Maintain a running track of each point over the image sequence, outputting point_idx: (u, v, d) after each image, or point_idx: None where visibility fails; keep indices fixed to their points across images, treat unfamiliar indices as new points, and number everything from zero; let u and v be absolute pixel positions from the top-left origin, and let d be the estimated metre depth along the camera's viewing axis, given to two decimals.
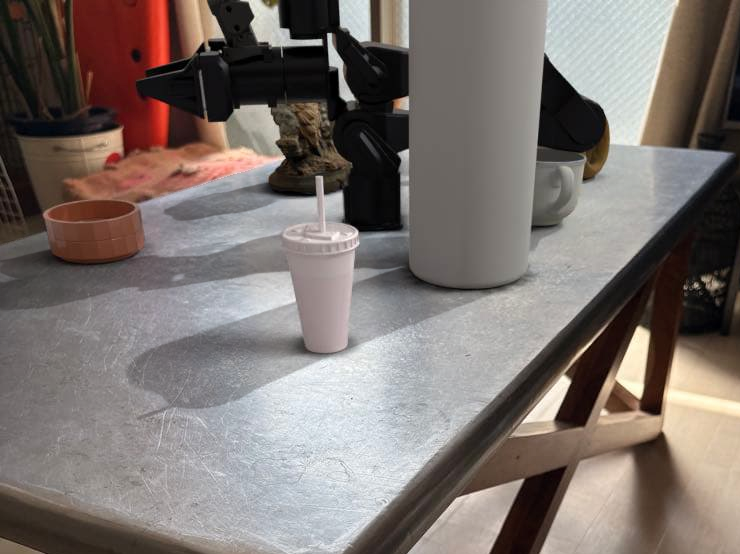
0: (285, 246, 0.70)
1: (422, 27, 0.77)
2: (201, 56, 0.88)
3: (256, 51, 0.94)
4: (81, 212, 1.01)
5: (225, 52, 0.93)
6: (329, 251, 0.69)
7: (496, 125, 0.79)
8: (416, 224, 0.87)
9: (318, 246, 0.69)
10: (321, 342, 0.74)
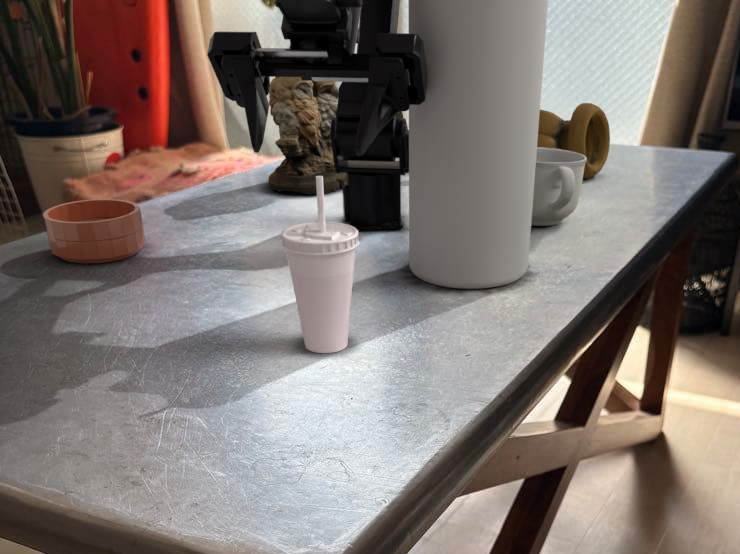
0: (285, 246, 0.70)
1: (421, 27, 0.77)
2: (413, 51, 0.73)
3: None
4: (81, 212, 1.01)
5: (348, 31, 0.75)
6: (329, 251, 0.69)
7: (496, 125, 0.79)
8: (416, 224, 0.87)
9: (318, 246, 0.69)
10: (321, 342, 0.74)
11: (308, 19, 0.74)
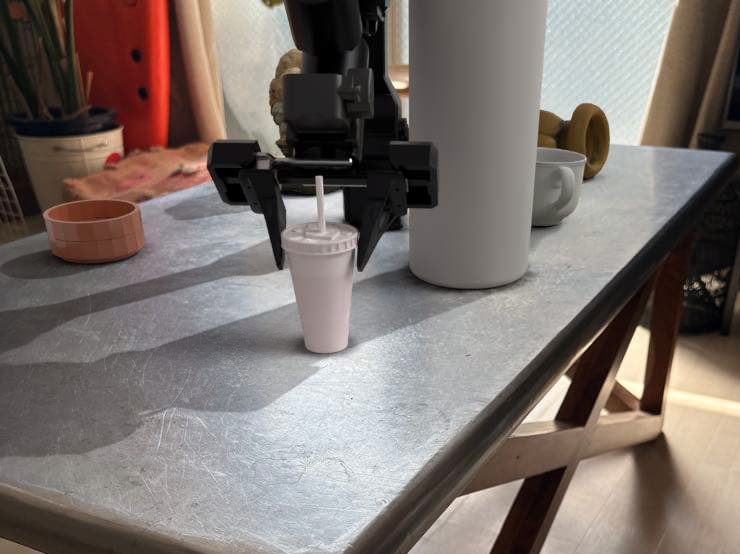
0: (285, 246, 0.70)
1: (421, 27, 0.77)
2: (430, 164, 0.69)
3: None
4: (81, 212, 1.01)
5: (358, 141, 0.70)
6: (329, 251, 0.69)
7: (496, 125, 0.79)
8: (416, 224, 0.87)
9: (318, 246, 0.69)
10: (321, 342, 0.74)
11: (315, 129, 0.69)
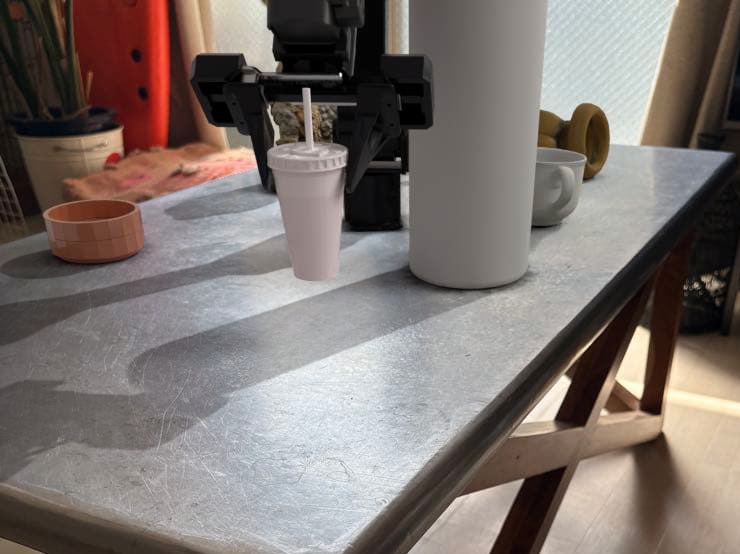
0: (271, 164, 0.67)
1: (421, 27, 0.77)
2: (423, 76, 0.66)
3: None
4: (81, 212, 1.01)
5: (348, 53, 0.67)
6: (317, 168, 0.66)
7: (496, 125, 0.79)
8: (416, 224, 0.87)
9: (305, 162, 0.65)
10: (310, 269, 0.71)
11: (303, 40, 0.66)
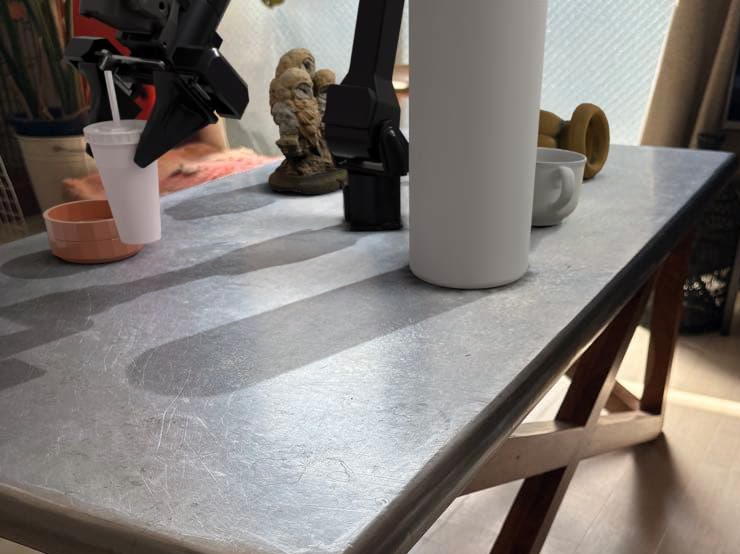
0: None
1: (421, 27, 0.77)
2: (196, 67, 0.70)
3: (175, 8, 0.74)
4: (81, 212, 1.01)
5: (161, 42, 0.74)
6: (105, 142, 0.75)
7: (496, 125, 0.79)
8: (416, 224, 0.87)
9: (95, 136, 0.74)
10: (121, 232, 0.80)
11: (130, 29, 0.75)
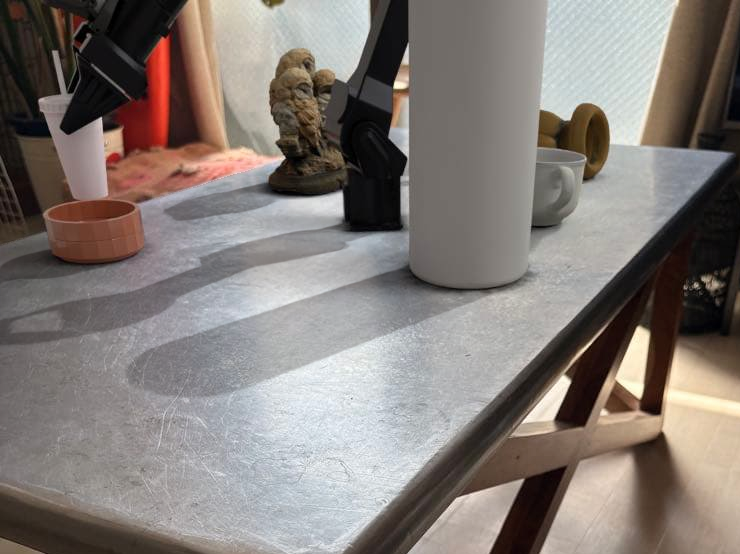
0: None
1: (421, 27, 0.77)
2: (82, 52, 0.81)
3: (113, 0, 0.85)
4: (81, 212, 1.01)
5: (94, 29, 0.86)
6: (44, 109, 0.89)
7: (496, 125, 0.79)
8: (416, 224, 0.87)
9: None
10: (70, 187, 0.95)
11: None
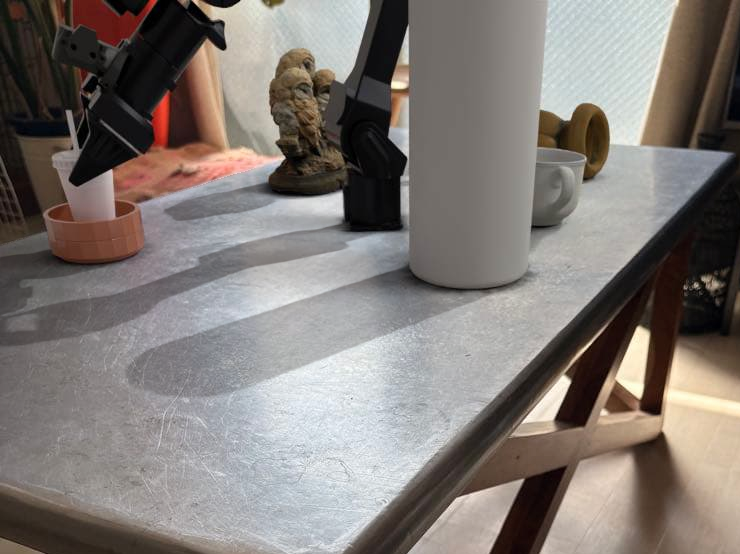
0: None
1: (421, 27, 0.77)
2: (91, 108, 0.84)
3: (122, 57, 0.88)
4: None
5: (103, 84, 0.88)
6: (57, 166, 0.92)
7: (496, 125, 0.79)
8: (416, 224, 0.87)
9: (53, 160, 0.93)
10: None
11: None
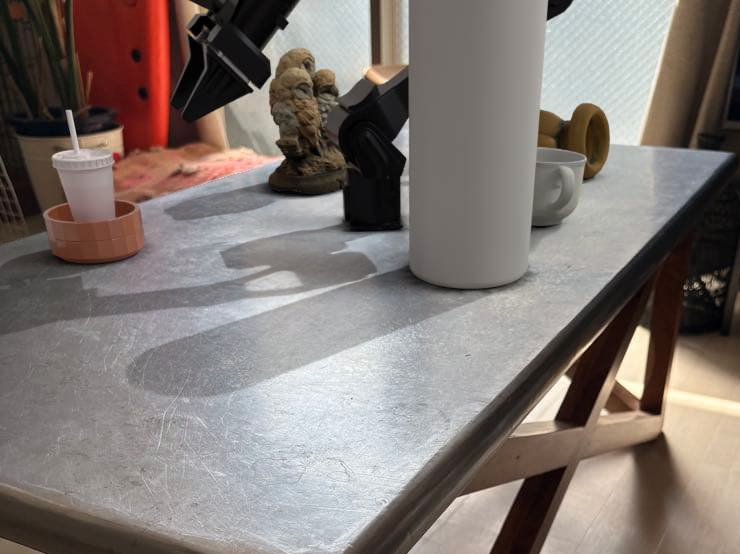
0: None
1: (421, 27, 0.77)
2: (213, 41, 0.85)
3: None
4: None
5: (218, 20, 0.89)
6: (57, 166, 0.92)
7: (496, 125, 0.79)
8: (416, 224, 0.87)
9: (53, 160, 0.93)
10: None
11: None
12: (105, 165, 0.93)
